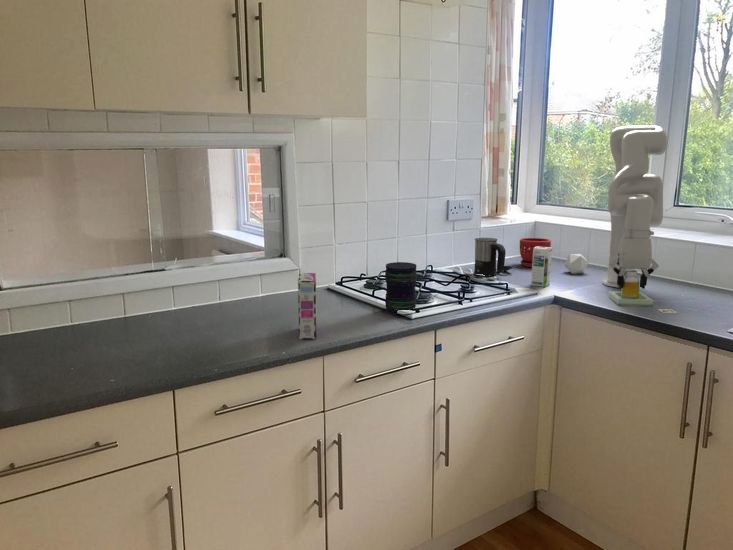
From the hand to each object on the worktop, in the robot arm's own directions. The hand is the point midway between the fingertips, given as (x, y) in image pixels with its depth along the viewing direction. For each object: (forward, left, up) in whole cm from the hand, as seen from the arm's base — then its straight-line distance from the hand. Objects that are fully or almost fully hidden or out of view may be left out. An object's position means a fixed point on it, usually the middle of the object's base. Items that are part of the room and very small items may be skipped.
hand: (631, 286), depth 192 cm
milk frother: (-39, -42, -5) cm, 58 cm away
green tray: (0, 0, -5) cm, 5 cm away
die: (-45, -8, -5) cm, 46 cm away
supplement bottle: (0, 0, -5) cm, 5 cm away
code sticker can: (+11, +8, -5) cm, 15 cm away
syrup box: (-21, -26, -5) cm, 34 cm away
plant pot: (-58, -23, -5) cm, 63 cm away
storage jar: (+21, -76, -5) cm, 79 cm away
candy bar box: (+47, -100, -5) cm, 111 cm away
